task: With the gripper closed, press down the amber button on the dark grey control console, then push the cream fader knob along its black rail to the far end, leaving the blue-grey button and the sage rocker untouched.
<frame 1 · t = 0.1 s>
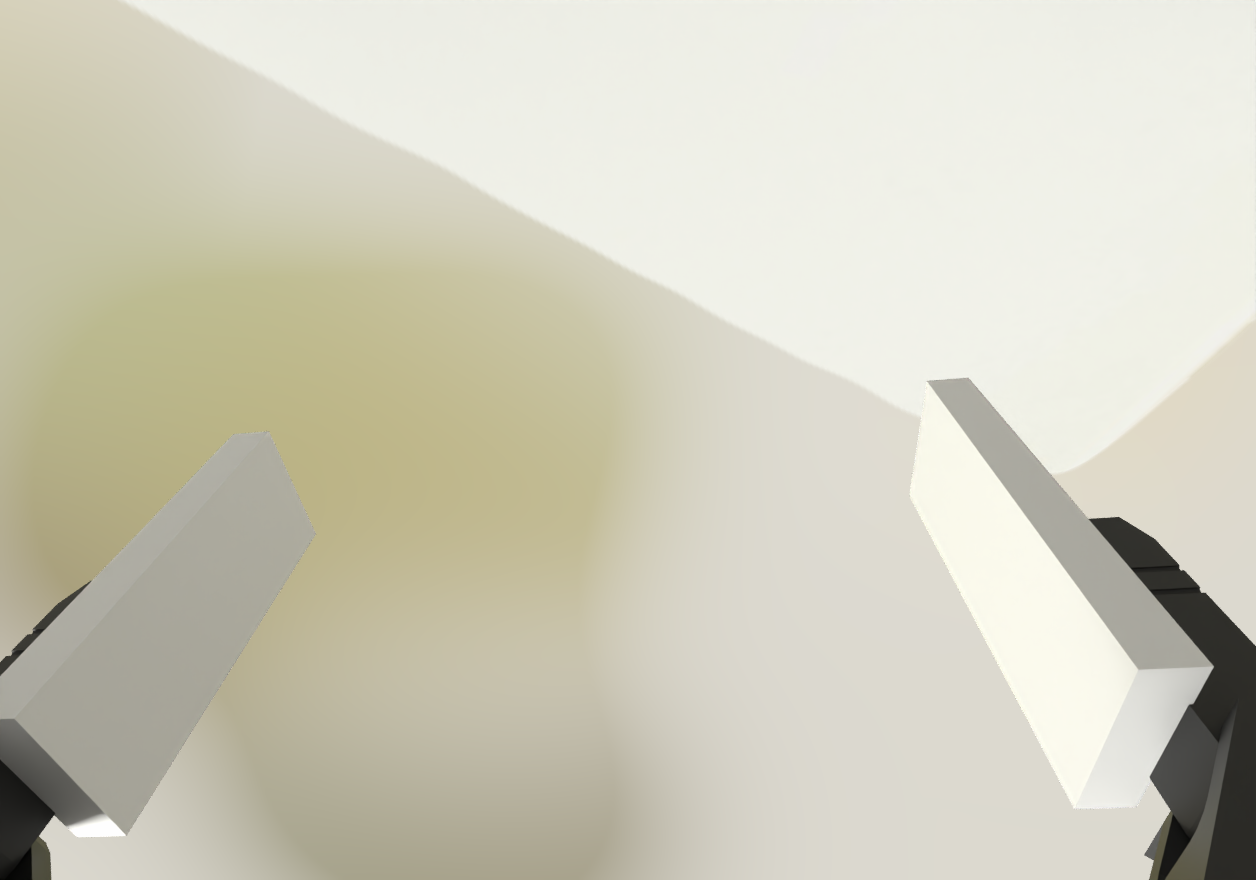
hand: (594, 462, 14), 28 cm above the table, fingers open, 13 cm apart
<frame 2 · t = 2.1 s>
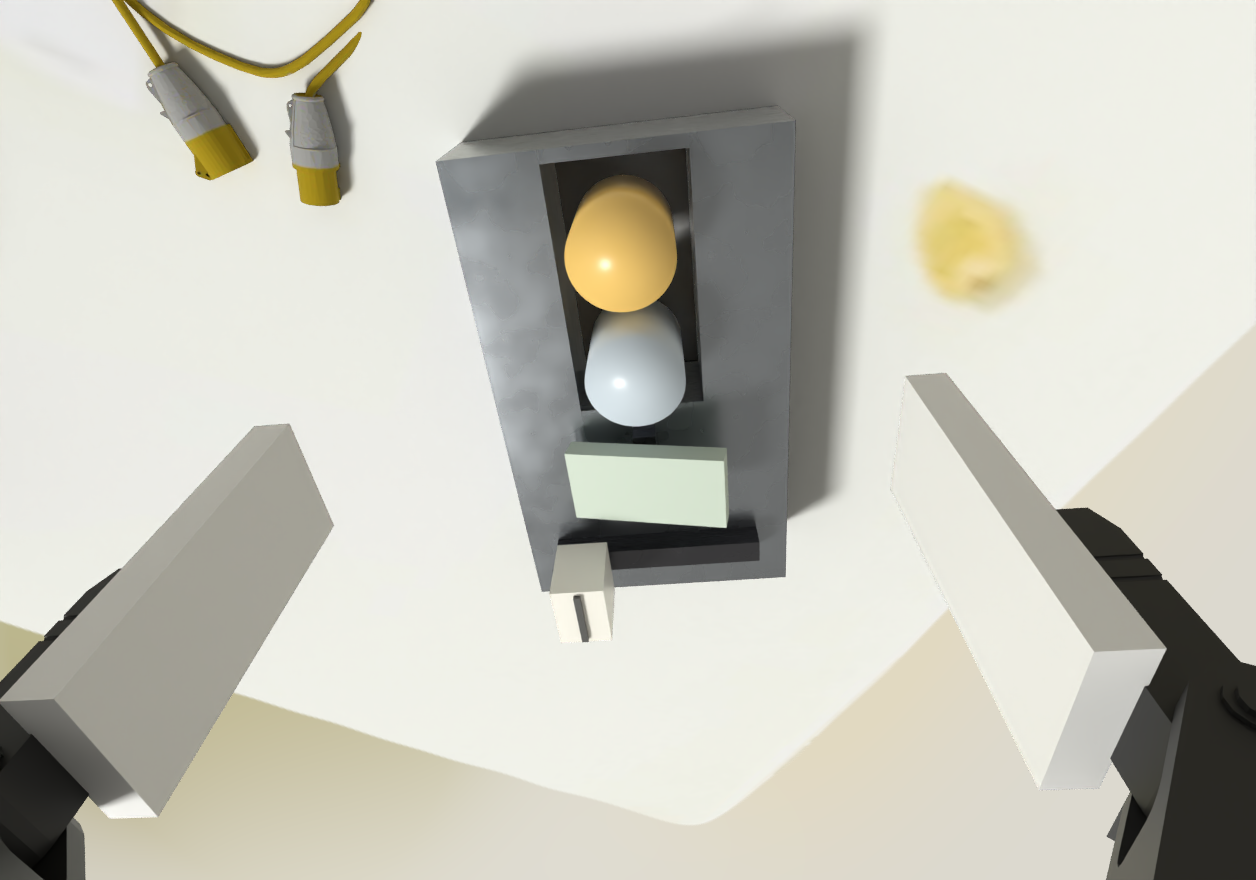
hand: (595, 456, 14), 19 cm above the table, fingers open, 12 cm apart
blue-grey button: (635, 359, 29), point 4 cm above the table, slide at 0.0 cm
sage rocker: (648, 484, 30), point 6 cm above the table, hinge at 12.0°
console: (642, 365, 34), on the table
fader knob: (584, 593, 32), point 7 cm above the table, slide at 0.0 cm
amber button: (622, 241, 26), point 4 cm above the table, slide at 0.0 cm
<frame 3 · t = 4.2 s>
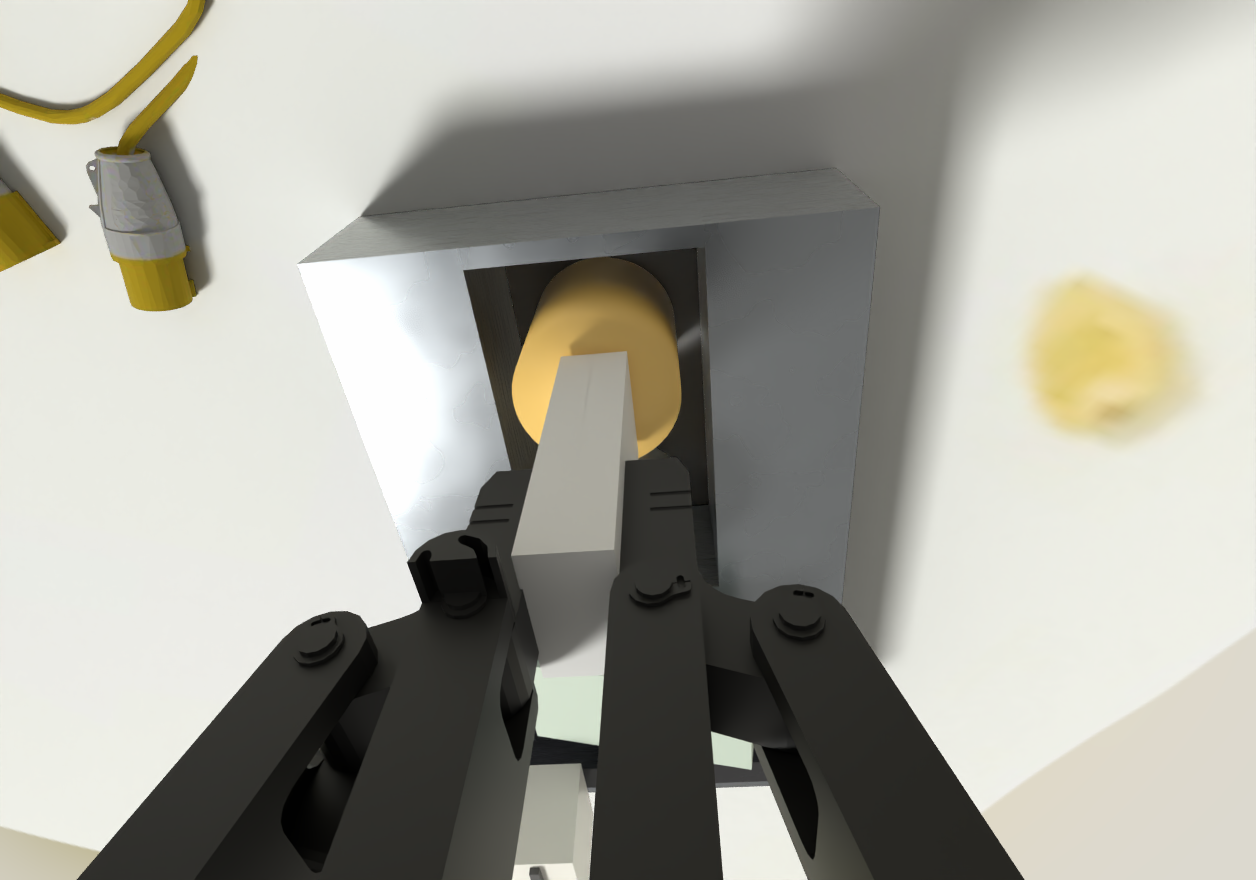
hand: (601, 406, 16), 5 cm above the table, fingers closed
blue-grey button: (620, 539, 19), point 4 cm above the table, slide at 0.0 cm
sage rocker: (638, 703, 21), point 6 cm above the table, hinge at 12.0°
console: (631, 509, 24), on the table
fader knob: (548, 840, 23), point 7 cm above the table, slide at 0.0 cm
amber button: (601, 357, 18), point 3 cm above the table, slide at 1.5 cm, touching gripper
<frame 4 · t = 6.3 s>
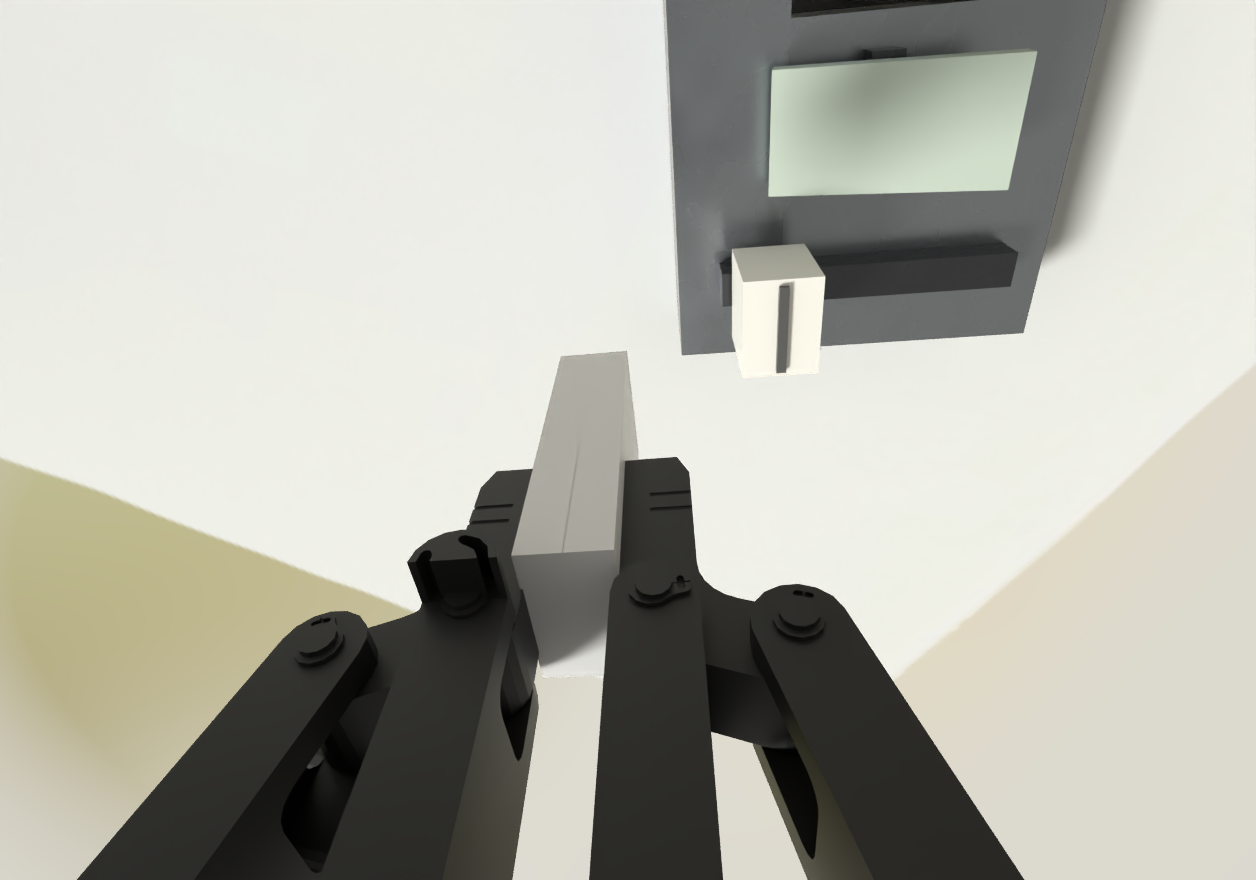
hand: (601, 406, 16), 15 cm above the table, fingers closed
sage rocker: (889, 127, 20), point 6 cm above the table, hinge at 12.0°
console: (850, 7, 24), on the table
fader knob: (774, 310, 22), point 7 cm above the table, slide at 0.0 cm
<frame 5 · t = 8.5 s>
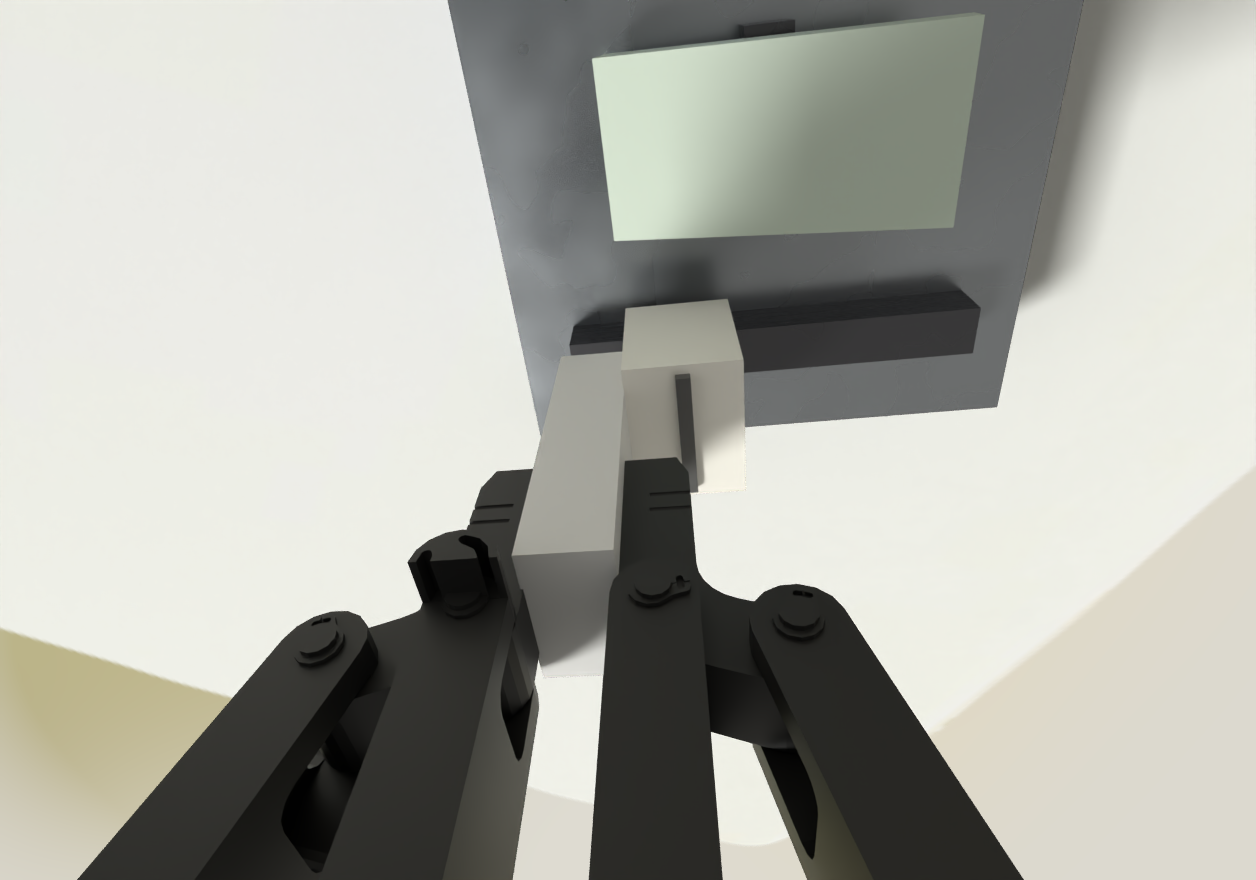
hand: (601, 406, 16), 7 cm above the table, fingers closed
sage rocker: (775, 138, 14), point 6 cm above the table, hinge at 12.0°
fader knob: (683, 398, 15), point 7 cm above the table, slide at 1.3 cm, touching gripper
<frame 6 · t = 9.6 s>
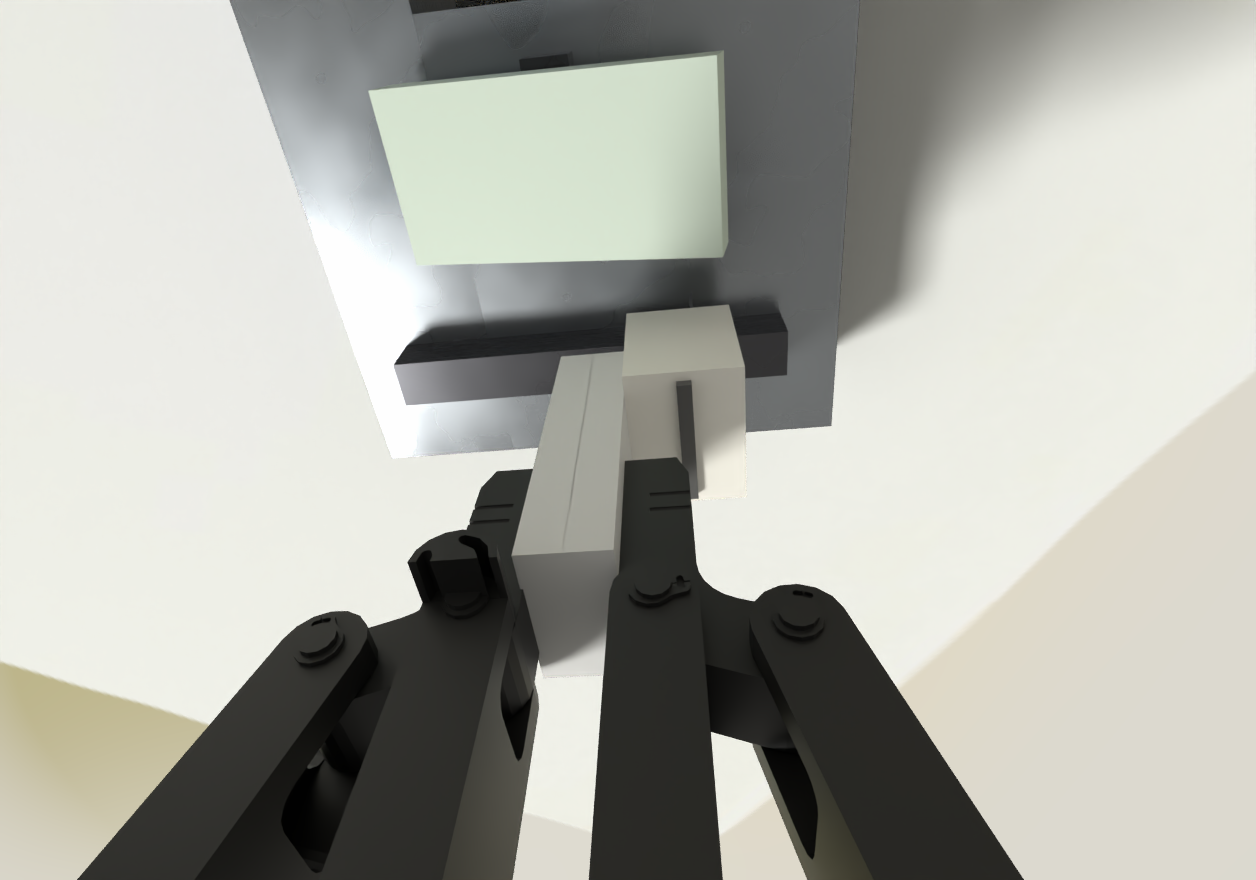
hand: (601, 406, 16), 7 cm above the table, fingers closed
sage rocker: (554, 168, 14), point 6 cm above the table, hinge at 12.0°
fader knob: (684, 404, 15), point 7 cm above the table, slide at 5.8 cm, touching gripper
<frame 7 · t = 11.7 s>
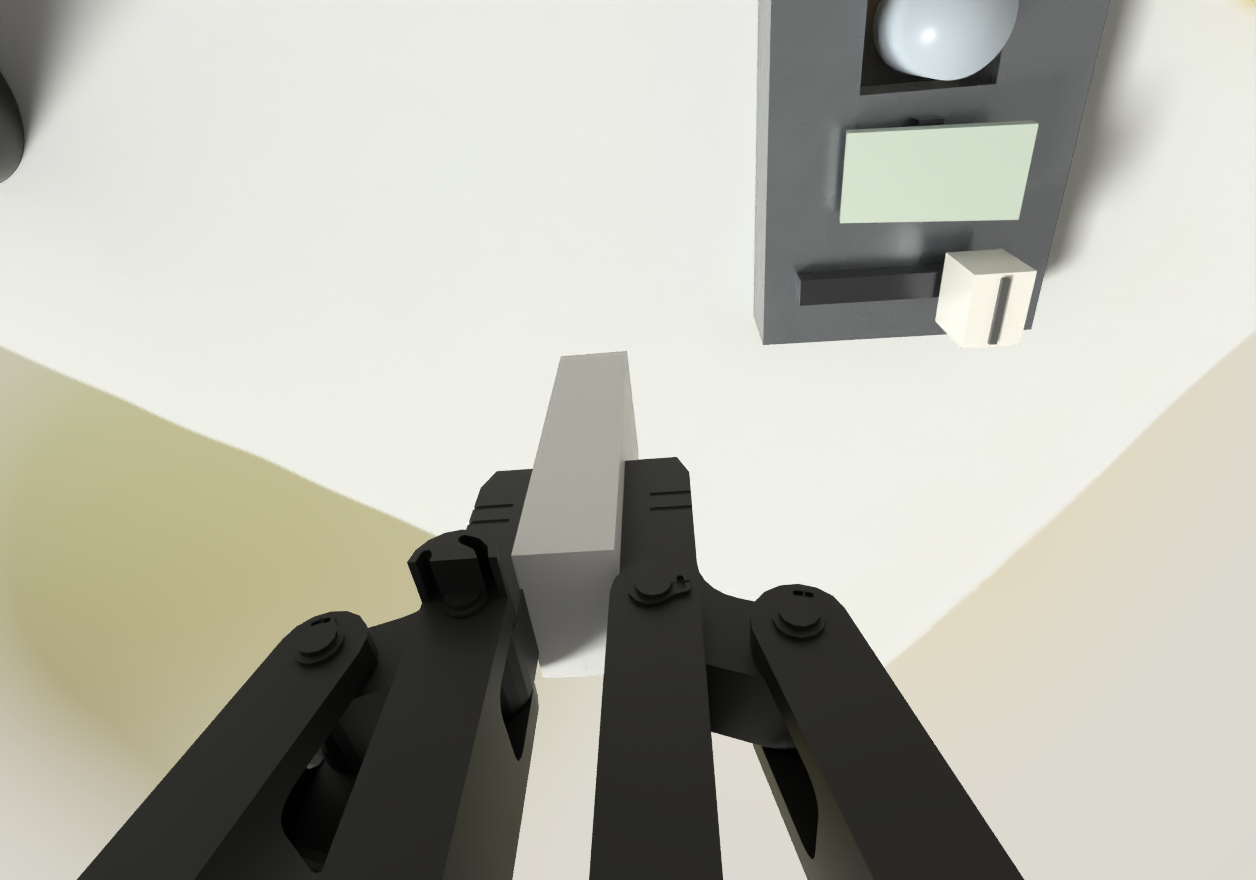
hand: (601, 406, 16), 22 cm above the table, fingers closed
blue-grey button: (940, 19, 26), point 4 cm above the table, slide at 0.0 cm
sage rocker: (931, 174, 28), point 6 cm above the table, hinge at 12.0°
console: (898, 83, 32), on the table
fader knob: (983, 298, 29), point 7 cm above the table, slide at 5.9 cm
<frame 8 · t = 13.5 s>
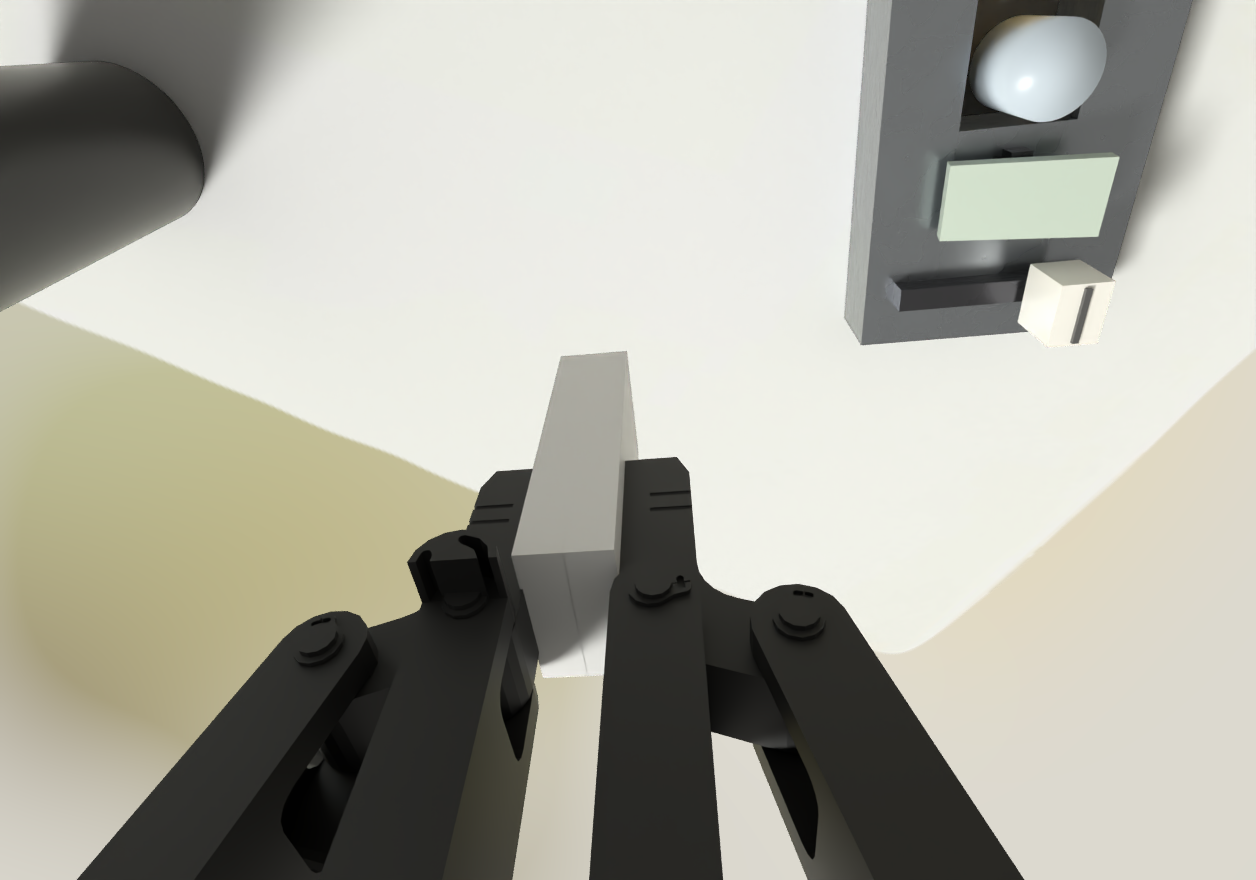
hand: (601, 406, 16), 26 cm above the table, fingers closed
blue-grey button: (1033, 67, 31), point 4 cm above the table, slide at 0.0 cm
sage rocker: (1022, 198, 33), point 6 cm above the table, hinge at 12.0°
console: (983, 114, 36), on the table
fader knob: (1064, 303, 34), point 7 cm above the table, slide at 5.9 cm
water bottle: (128, 146, 38), on the table
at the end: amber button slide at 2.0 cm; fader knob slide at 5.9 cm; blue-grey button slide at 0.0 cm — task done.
